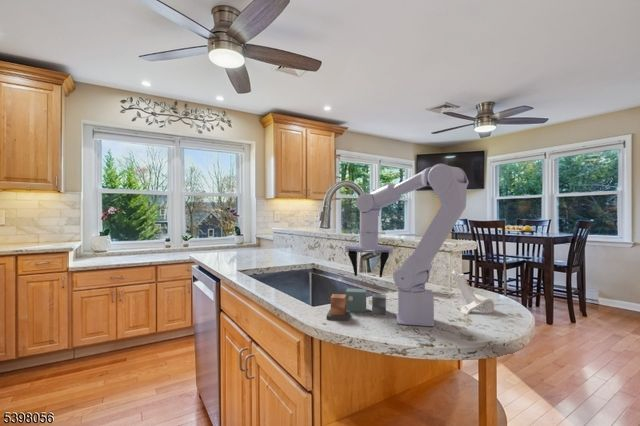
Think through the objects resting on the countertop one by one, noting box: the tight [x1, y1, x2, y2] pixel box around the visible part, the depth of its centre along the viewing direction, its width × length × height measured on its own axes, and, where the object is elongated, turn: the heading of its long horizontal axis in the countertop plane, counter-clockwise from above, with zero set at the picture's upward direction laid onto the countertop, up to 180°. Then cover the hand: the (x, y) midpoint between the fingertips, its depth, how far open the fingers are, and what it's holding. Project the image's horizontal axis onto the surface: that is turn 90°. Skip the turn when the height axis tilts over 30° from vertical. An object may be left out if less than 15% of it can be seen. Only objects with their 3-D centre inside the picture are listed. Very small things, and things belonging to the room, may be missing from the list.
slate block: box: [371, 293, 387, 316], centre depth 97 cm, size 4×4×5 cm
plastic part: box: [451, 270, 496, 315], centre depth 99 cm, size 8×10×12 cm
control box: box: [345, 288, 367, 313], centre depth 99 cm, size 6×5×6 cm
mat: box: [326, 308, 351, 322], centre depth 93 cm, size 6×6×1 cm
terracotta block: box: [330, 293, 346, 316], centre depth 93 cm, size 4×4×5 cm
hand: (368, 275), depth 100 cm, fingers open, 7 cm apart
